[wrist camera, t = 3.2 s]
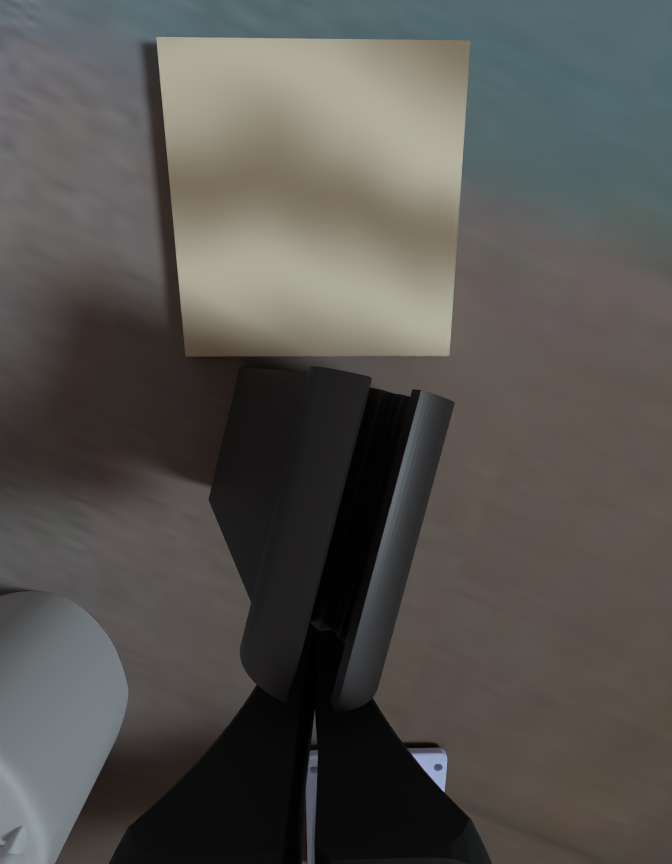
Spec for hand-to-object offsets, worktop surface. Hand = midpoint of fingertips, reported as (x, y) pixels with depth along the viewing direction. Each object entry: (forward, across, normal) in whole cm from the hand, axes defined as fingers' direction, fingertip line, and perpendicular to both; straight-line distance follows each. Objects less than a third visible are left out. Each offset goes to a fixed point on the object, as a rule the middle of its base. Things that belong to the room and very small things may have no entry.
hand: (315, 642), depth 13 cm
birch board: (+8, 0, -13) cm, 16 cm away
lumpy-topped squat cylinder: (+9, +16, +10) cm, 21 cm away
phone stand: (+8, 0, -3) cm, 9 cm away
